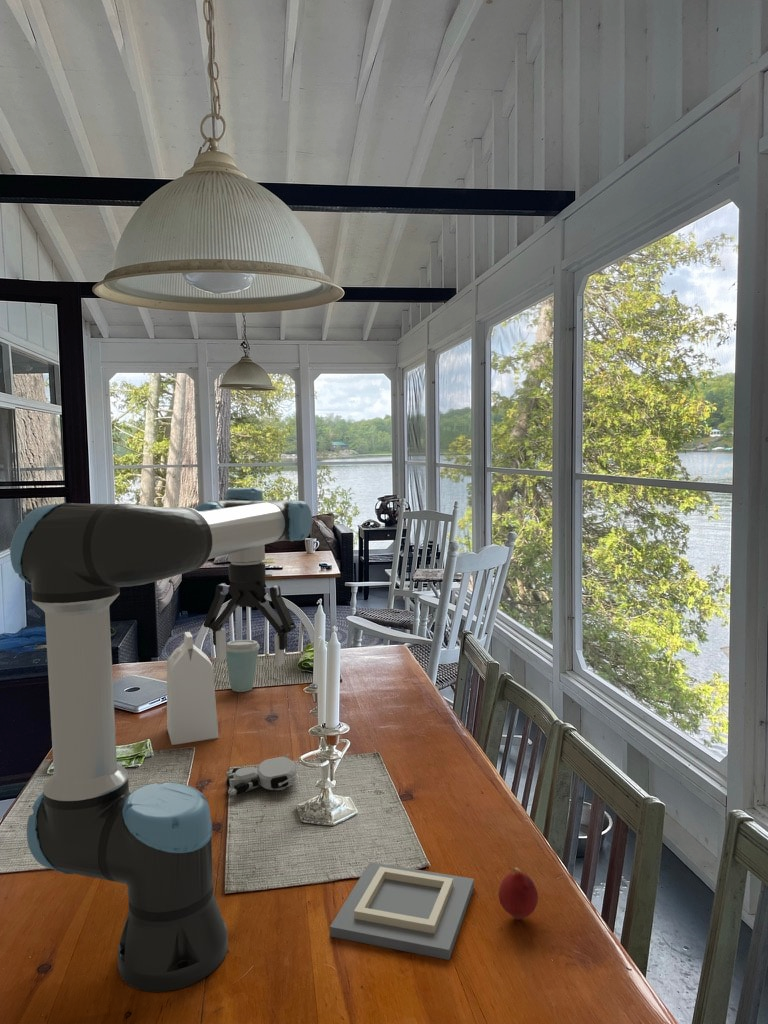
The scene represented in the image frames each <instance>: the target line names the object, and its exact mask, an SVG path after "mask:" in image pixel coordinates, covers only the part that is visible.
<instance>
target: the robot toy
mask: <svg viewBox="0 0 768 1024" xmlns="http://www.w3.org/2000/svg"><path fill="white" fill-rule="evenodd" d="M289 757H290V753H289V754H285V755H284V756H278V757H273V758H268V759H264V760H263V761H261V763H259V765H257V768H256V767H255V766H249V767H234V768H233V769H228V770H227V771H226V772H225V775H226V776H227V777H228V778H227V779H226V782H225V784H226V786H227V787H228V788H229V789H228V791H227V793H228V794H229V795H230V796H234V795H238V796H239V795H241V794H243V793H247V792H246V791H248V792H249V791H251V790H254V789H257V788H258V787H259V786H261V787H262V788H264V789H266V790H269V791H277V792H280V791H279V790H281V791H283V790H285V789H286V788H288V787H290V786H292V785H293V784H294V782H295V781H296V779H297V778H298V776H297V765H296V763H295V762H294V761H293V760H291V759H290V758H289Z"/></svg>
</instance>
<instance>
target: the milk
mask: <svg viewBox="0 0 768 1024" xmlns="http://www.w3.org/2000/svg"><path fill="white" fill-rule="evenodd" d="M183 639H184V640H183V642H182V643H181V644H180V645H179V646H178V647H176V648H175V649H174V650H173V652H172V653H171V655H170V656H169V657H168V659H167V660H166V720H167V721H166V726H167V733H168V737H169V740H170V743H171V746H173V745H182V744H187V743H192V742H193V743H194V742H201V741H206V740H213V739H219V738H220V737H219V726H218V714H217V713H218V712H217V703H216V701H217V700H216V690H215V678H214V676H215V675H214V668H213V667H214V666H213V663H212V662H211V660H210V658H209V657H208V655H207V654H206V653H205V652H204V651H203V650H201V649H200V648H198V647H197V646H196V645H195V644H194V637H193V635H192V633H191V631H185V632H184V637H183Z"/></svg>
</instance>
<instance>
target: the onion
mask: <svg viewBox="0 0 768 1024" xmlns="http://www.w3.org/2000/svg"><path fill="white" fill-rule="evenodd" d="M512 870H513V871H512V872H509V873H508V874H507V875H506V876H505V877H504V878H503V879H502V880H501V882H500V885H499V888H498V900H499V903H500V905H501V907H502V908H503V910H505V912H507V913H508V914H509V915H511V916H512V918H514V919H515V920H522V919H526V918H527V917H529V916H530V915H531V914H533V913H534V911H535V909H536V907H537V905H538V901H539V896H538V895H539V894H538V890H537V887H536V885H535V883H534V881H533V880H532V878H530V877H529V876H528V875H527V874H526V873H524V872H522V871H521V870H520V868H518V867H513V868H512Z"/></svg>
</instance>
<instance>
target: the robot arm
mask: <svg viewBox="0 0 768 1024" xmlns="http://www.w3.org/2000/svg"><path fill="white" fill-rule="evenodd" d="M263 495H264V494H263V491H262V490H261V488H259V487H233V488H228V489H227V490H226V493H225V499H222V500H221V499H220V500H208V501H206V502H202V503H201V504H200V503H199V504H198V505H197V506H196V507H195V508H192V507H187V506H179V507H162V506H153V505H145V504H134V503H74V502H61V503H53V504H44V505H42V506H38V507H36V508H34V509H32V510H31V511H30V512H28V513H27V514H26V515H25V516H24V517H23V520H22V521H21V522H20V523H19V524H18V525H17V527H16V529H15V531H14V533H13V536H12V539H11V542H10V549H9V555H10V562H11V567H12V569H13V570H14V573H16V574H18V578H20V579H21V580H22V581H24V582H25V583H27V584H28V585H31V601H32V603H33V604H34V605H36V606H37V607H38V608H39V609H41V610H42V612H44V617H45V618H44V620H45V633H46V634H45V636H46V637H45V638H46V639H45V641H46V655H47V656H46V657H47V674H48V690H49V691H48V692H49V711H50V728H51V742H52V743H51V747H52V762H53V764H52V765H53V774H52V775H51V776H50V777H49V778H48V780H47V781H46V782H45V783H44V784H43V787H42V790H43V791H42V792H41V793H40V794H39V796H37V798H36V799H35V801H34V803H33V805H32V807H31V809H32V811H33V813H32V814H29V815H28V818H27V824H26V842H27V846H28V849H29V851H30V853H31V855H32V857H33V858H34V860H35V861H36V862H37V863H39V864H40V865H41V866H44V867H45V868H48V869H51V870H54V871H56V872H60V873H61V874H64V875H65V874H66V875H78V876H84V877H89V878H94V879H99V880H104V881H109V882H114V883H120V884H124V885H126V886H127V896H128V897H127V899H128V900H127V901H128V912H127V915H126V918H125V922H124V926H123V928H122V929H123V930H122V934H121V936H120V940H119V943H118V947H117V970H118V973H119V975H120V978H121V979H122V981H123V982H125V984H127V985H129V986H130V987H132V988H135V989H137V990H140V991H144V992H169V991H174V990H177V989H178V990H179V989H182V988H185V987H188V986H191V985H192V984H195V983H197V982H200V981H201V980H203V979H204V978H206V977H208V976H209V975H210V974H211V973H213V972H214V971H215V970H217V968H218V967H219V966H220V965H221V964H222V962H223V960H224V959H225V957H226V955H227V952H228V948H229V942H228V941H229V939H228V938H229V936H228V927H227V923H226V922H225V919H224V918H223V916H222V913H221V910H220V908H219V904H218V902H217V900H216V897H215V894H214V870H213V867H214V865H213V841H212V840H213V839H212V838H213V837H212V834H213V823H212V820H211V819H212V818H211V811H210V810H211V809H210V806H209V803H208V801H207V797H205V795H204V794H203V793H202V792H201V791H199V790H198V789H197V788H195V787H193V786H191V785H188V784H185V783H184V784H183V783H181V782H172V781H171V782H170V781H169V782H168V781H167V782H166V781H164V782H163V783H162V784H159V783H158V782H154V783H149V784H146V785H143V786H141V787H138V788H136V789H135V790H132V792H131V791H130V785H129V783H130V782H129V772H128V770H127V769H126V768H125V767H123V766H122V765H120V764H119V763H117V762H118V759H117V740H116V723H115V721H116V717H115V700H114V696H115V695H114V678H113V655H112V639H111V637H112V636H111V633H112V632H111V618H110V617H111V615H110V614H111V613H110V606H111V605H112V604H113V602H114V601H115V600H116V599H117V598H118V596H119V597H120V594H121V593H120V592H121V591H120V588H123V587H124V588H125V587H126V588H127V587H134V586H135V587H136V586H142V585H147V584H150V583H154V582H158V581H162V580H166V579H169V578H172V577H176V576H179V575H183V574H185V573H190V572H193V571H195V570H198V569H200V568H202V567H203V566H204V565H205V564H206V563H207V562H208V560H211V559H215V558H218V557H222V556H227V561H228V562H230V563H229V565H228V580H229V585H227V584H226V583H225V582H222V583H220V584H219V583H218V584H217V585H216V586H215V594H214V598H213V600H212V602H211V605H210V607H209V610H208V612H207V615H206V617H205V619H204V622H203V627H204V628H208V629H210V630H211V632H212V644H213V646H216V647H215V648H216V663H221V662H223V661H225V660H227V657H226V644H227V640H226V639H227V637H226V635H227V634H226V628H223V627H224V625H225V623H226V622H227V621H228V620H229V618H230V617H231V616H232V614H233V613H234V612H235V610H236V609H237V608H238V607H239V608H244V607H247V608H256V609H257V610H258V611H260V612H261V614H262V615H263V617H264V618H266V620H267V621H268V623H269V624H270V625H271V626H272V627H273V629H274V631H276V632H275V633H276V634H274V637H273V639H274V643H273V644H274V666H275V667H278V668H279V667H280V666H282V665H283V664H285V650H286V649H287V648H288V633H290V632H292V631H294V630H296V628H297V626H296V624H295V623H296V622H295V621H294V619H293V617H292V615H291V613H290V611H289V609H288V607H287V605H286V603H285V601H284V599H283V597H282V590H281V586H280V585H278V584H276V585H273V586H267V584H266V578H267V577H266V576H267V575H266V563H265V561H264V560H265V559H266V551H265V550H266V549H265V548H266V547H265V545H269V544H271V543H277V542H281V541H290V542H294V541H303V540H305V539H307V538H308V537H309V535H310V533H311V531H312V525H313V524H312V523H313V517H312V511H311V508H310V506H309V504H308V503H307V502H305V501H303V500H293V499H288V500H264V498H263V497H264V496H263ZM228 594H229V595H230V596H231V598H230V600H229V601H228V603H227V604H226V606H225V608H224V609H223V610H222V612H221V613H220V611H221V608H222V606H223V603H224V601H225V599H226V596H227V595H228ZM266 595H268V597H270V600H271V602H272V603H271V604H273V607H274V608H275V610H274V609H273V607H272V606H271V605H270V602H269V600H267V598H266ZM219 613H220V615H219ZM130 792H131V793H130Z"/></svg>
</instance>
